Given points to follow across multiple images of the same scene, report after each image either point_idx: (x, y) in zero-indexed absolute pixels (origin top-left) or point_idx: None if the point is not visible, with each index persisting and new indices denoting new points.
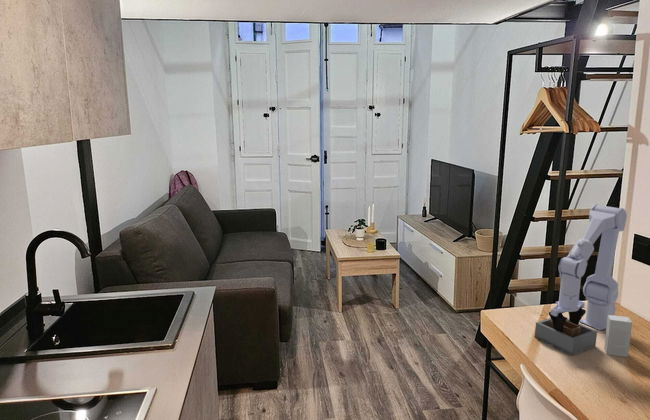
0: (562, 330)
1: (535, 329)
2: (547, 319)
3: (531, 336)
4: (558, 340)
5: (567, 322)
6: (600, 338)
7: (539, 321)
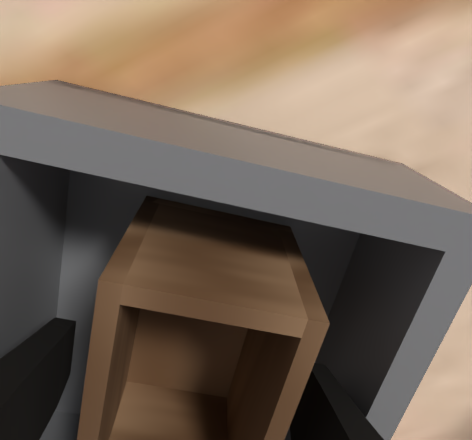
0: (38, 430)
1: (12, 86)
2: (216, 172)
3: (45, 45)
4: None
5: (268, 414)
6: (443, 423)
7: (36, 116)
